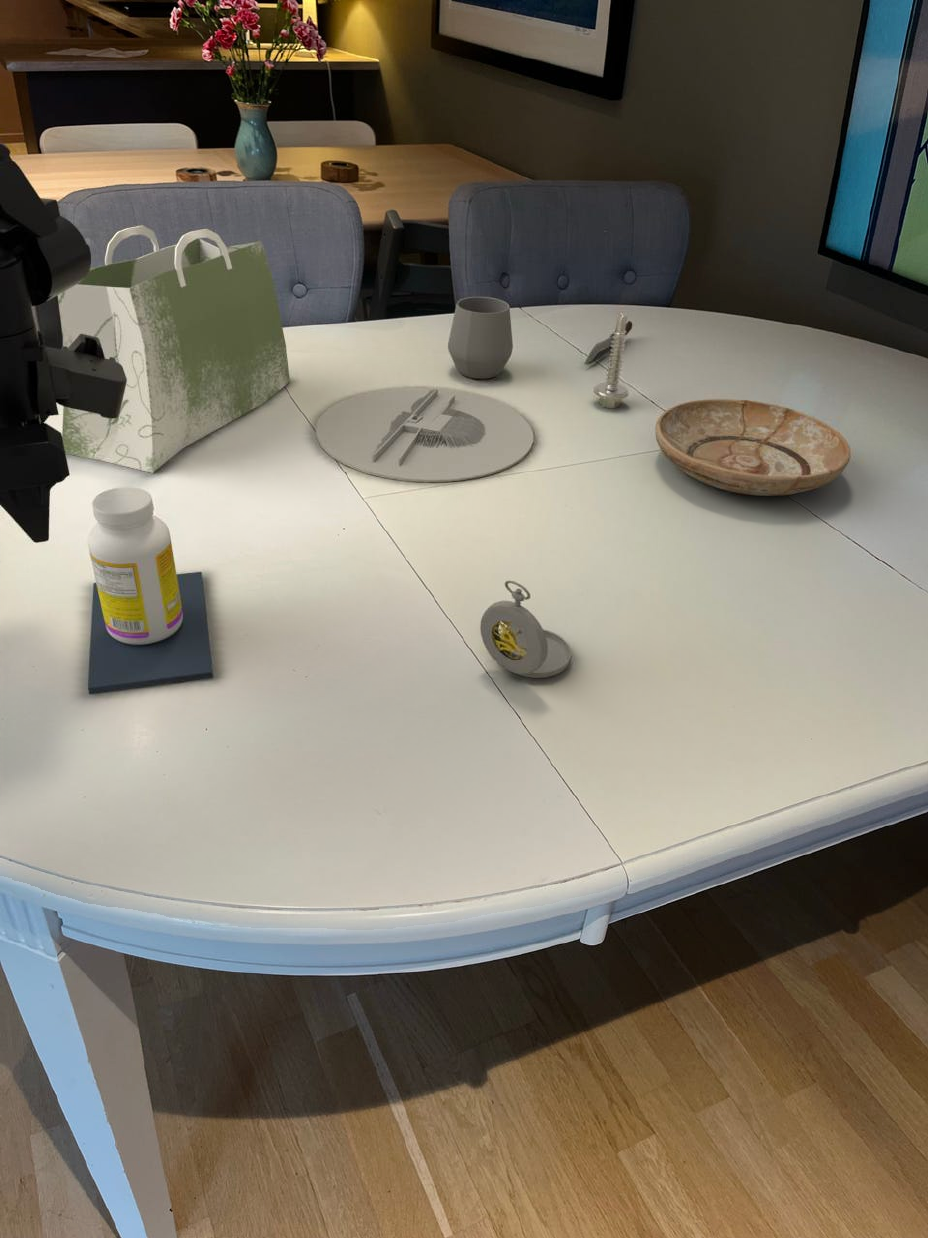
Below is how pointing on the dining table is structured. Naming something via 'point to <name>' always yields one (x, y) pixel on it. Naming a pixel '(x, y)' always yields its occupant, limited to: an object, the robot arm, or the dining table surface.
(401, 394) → the plate
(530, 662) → the pocket watch
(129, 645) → the placemat
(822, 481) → the ceramic bowl
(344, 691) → the dining table surface
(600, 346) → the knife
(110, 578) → the supplement bottle
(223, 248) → the grocery bag
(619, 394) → the screw
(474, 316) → the cup
